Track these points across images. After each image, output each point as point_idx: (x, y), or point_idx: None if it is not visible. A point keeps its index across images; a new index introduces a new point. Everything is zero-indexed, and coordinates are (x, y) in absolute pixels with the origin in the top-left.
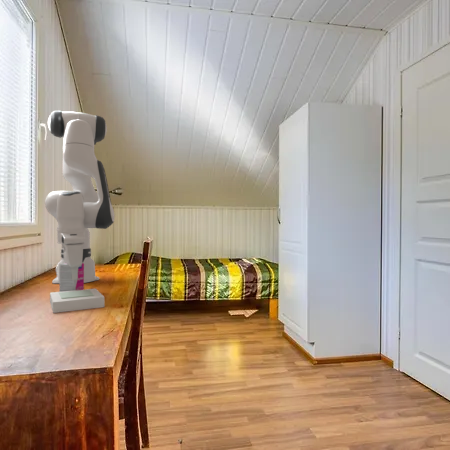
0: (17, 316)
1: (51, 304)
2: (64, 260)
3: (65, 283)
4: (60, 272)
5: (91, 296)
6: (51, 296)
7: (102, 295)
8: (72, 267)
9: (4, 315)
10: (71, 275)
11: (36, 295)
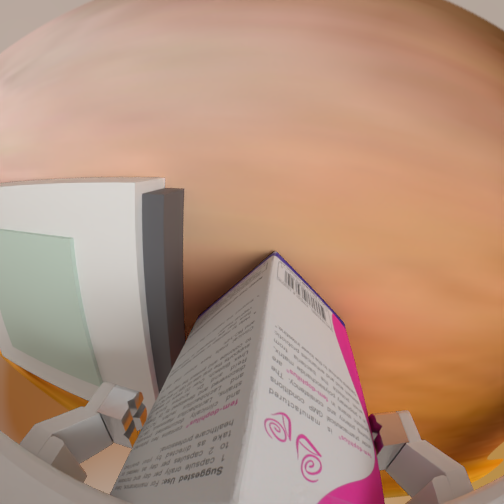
0: (8, 74)
1: (38, 180)
2: (502, 502)
3: (213, 339)
4: (241, 391)
5: (7, 333)
6: (27, 186)
7: (19, 365)
8: (27, 444)
9: (39, 27)
10: (102, 406)
11: (450, 140)
